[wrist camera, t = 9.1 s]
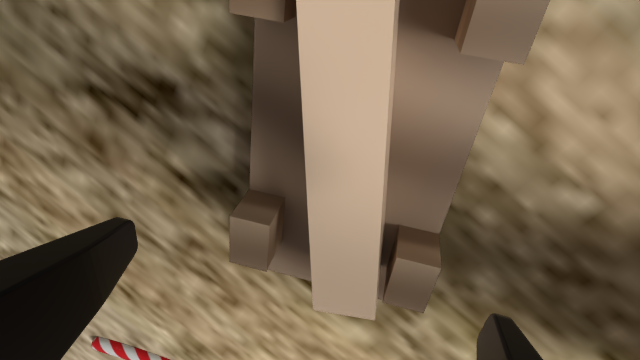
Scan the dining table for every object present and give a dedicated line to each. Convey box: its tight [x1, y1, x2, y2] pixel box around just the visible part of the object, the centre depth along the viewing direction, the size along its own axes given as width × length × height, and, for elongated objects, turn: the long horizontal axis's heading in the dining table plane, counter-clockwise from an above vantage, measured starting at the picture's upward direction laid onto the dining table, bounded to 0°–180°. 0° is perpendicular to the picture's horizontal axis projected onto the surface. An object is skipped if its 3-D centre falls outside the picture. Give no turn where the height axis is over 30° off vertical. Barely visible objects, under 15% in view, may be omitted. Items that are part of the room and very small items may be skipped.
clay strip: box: [296, 0, 400, 320], centre depth 16 cm, size 16×3×4 cm, turn 2°
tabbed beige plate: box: [229, 0, 550, 313], centre depth 17 cm, size 20×10×4 cm, turn 173°
